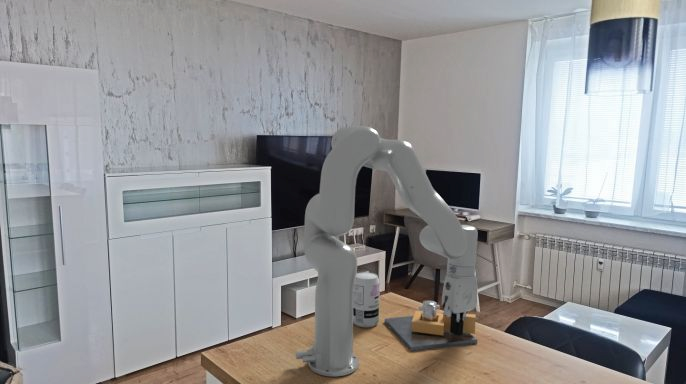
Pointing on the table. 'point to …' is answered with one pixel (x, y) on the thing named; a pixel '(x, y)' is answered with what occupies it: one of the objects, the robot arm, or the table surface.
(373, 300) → the supplement can
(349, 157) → the robot arm
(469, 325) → the tan wooden bracket
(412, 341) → the base plate
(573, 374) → the table surface
